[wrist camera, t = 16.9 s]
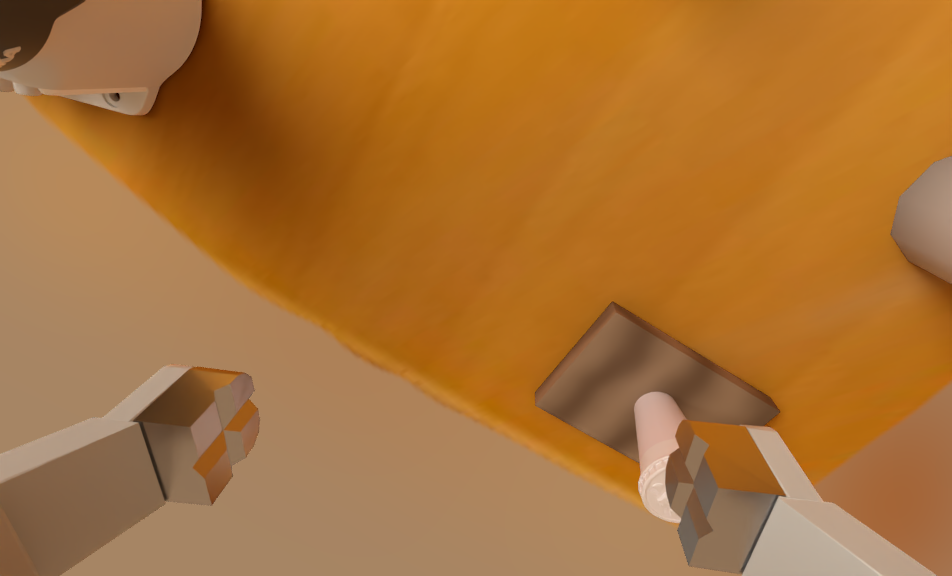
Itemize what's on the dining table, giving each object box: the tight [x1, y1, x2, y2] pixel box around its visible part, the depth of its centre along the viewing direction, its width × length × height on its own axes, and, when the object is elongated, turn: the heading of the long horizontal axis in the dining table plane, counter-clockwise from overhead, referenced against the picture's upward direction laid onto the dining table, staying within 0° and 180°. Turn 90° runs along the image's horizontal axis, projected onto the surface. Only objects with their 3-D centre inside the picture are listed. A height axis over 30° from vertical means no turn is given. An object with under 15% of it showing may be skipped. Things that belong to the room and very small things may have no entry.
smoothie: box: [634, 392, 687, 523], centre depth 38 cm, size 6×6×14 cm
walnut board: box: [535, 302, 780, 463], centre depth 45 cm, size 18×12×2 cm, turn 59°
